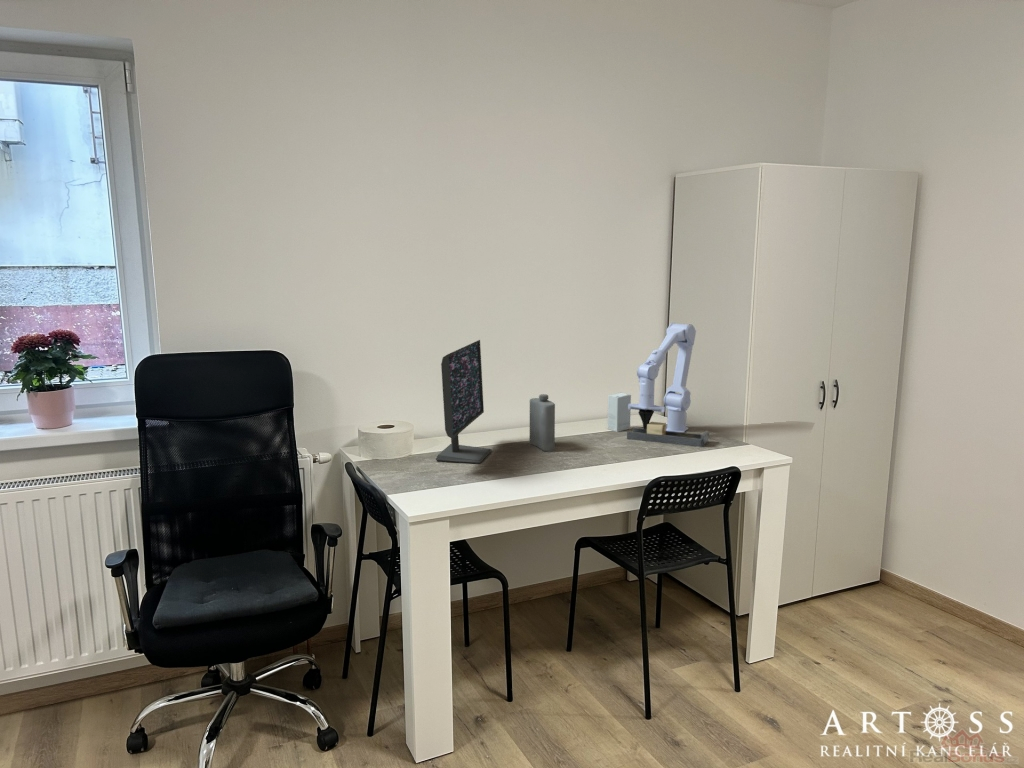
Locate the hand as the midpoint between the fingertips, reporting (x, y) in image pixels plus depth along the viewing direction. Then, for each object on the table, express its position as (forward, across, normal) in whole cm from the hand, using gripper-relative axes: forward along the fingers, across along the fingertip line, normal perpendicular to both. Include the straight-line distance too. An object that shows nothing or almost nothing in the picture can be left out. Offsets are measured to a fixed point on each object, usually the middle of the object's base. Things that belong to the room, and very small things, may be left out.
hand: (645, 428), depth 303 cm
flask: (+4, -31, -30) cm, 44 cm away
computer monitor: (+4, -51, -55) cm, 75 cm away
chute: (+4, +9, 0) cm, 10 cm away
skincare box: (+4, -14, +10) cm, 18 cm away
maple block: (+3, +4, 0) cm, 5 cm away
